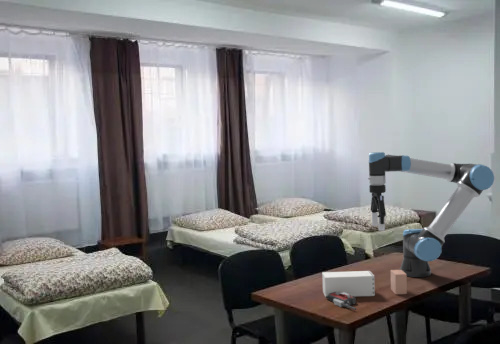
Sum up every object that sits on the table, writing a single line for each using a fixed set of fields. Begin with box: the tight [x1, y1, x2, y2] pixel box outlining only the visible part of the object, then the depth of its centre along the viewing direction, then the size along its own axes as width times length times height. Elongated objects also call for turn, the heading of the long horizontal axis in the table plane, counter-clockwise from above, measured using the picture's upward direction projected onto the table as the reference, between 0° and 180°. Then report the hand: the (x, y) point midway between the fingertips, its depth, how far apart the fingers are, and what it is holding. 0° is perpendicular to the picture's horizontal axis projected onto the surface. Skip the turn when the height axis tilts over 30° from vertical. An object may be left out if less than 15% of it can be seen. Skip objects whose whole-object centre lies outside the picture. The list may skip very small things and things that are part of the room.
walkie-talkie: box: [325, 291, 357, 311], centre depth 221 cm, size 9×4×20 cm
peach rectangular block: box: [390, 269, 408, 295], centre depth 234 cm, size 5×8×9 cm, turn 0°
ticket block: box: [321, 270, 376, 298], centre depth 235 cm, size 22×9×9 cm, turn 90°
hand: (378, 228), depth 249 cm, fingers open, 13 cm apart
